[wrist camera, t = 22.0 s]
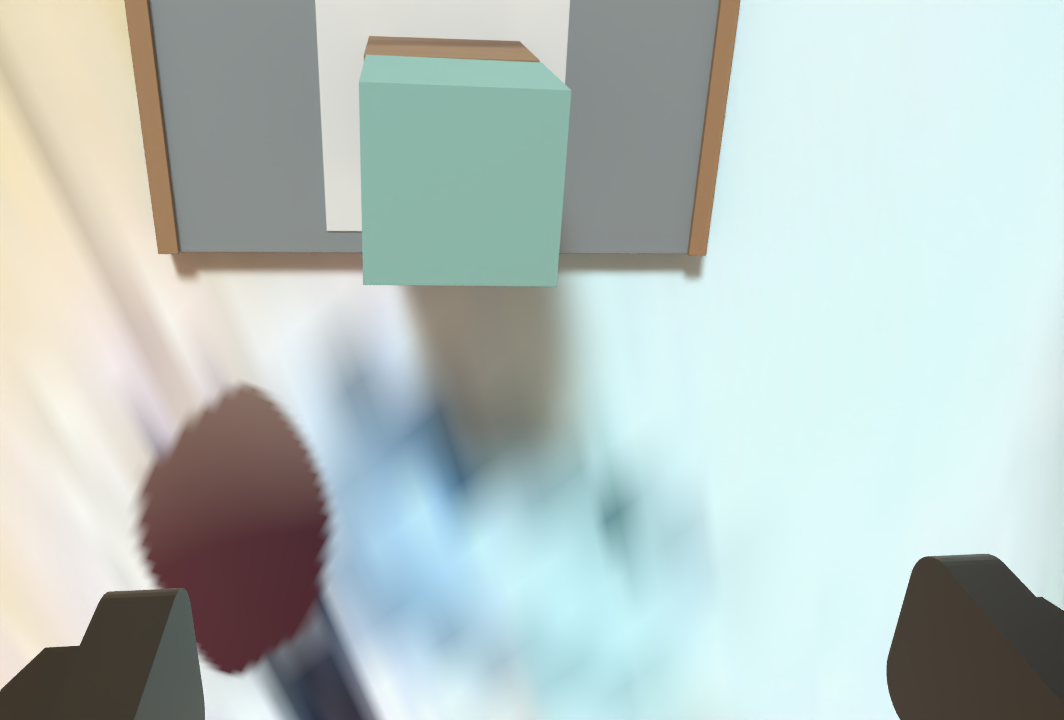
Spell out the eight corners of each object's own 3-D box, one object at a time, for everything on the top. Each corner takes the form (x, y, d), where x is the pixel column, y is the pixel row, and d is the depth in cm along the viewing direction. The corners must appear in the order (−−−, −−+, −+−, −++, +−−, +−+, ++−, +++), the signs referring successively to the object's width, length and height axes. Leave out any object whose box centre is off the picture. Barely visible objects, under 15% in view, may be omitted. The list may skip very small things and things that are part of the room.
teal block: (366, 54, 31) (359, 81, 25) (542, 62, 31) (571, 90, 26) (369, 226, 33) (363, 284, 28) (532, 229, 34) (556, 286, 29)
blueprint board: (127, -59, 35) (116, -59, 33) (731, -30, 38) (744, -29, 36) (166, 242, 40) (158, 253, 38) (696, 245, 43) (705, 255, 42)
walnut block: (369, 35, 36) (363, 55, 31) (519, 41, 37) (539, 60, 31) (373, 185, 38) (369, 227, 33) (513, 186, 39) (532, 228, 34)
